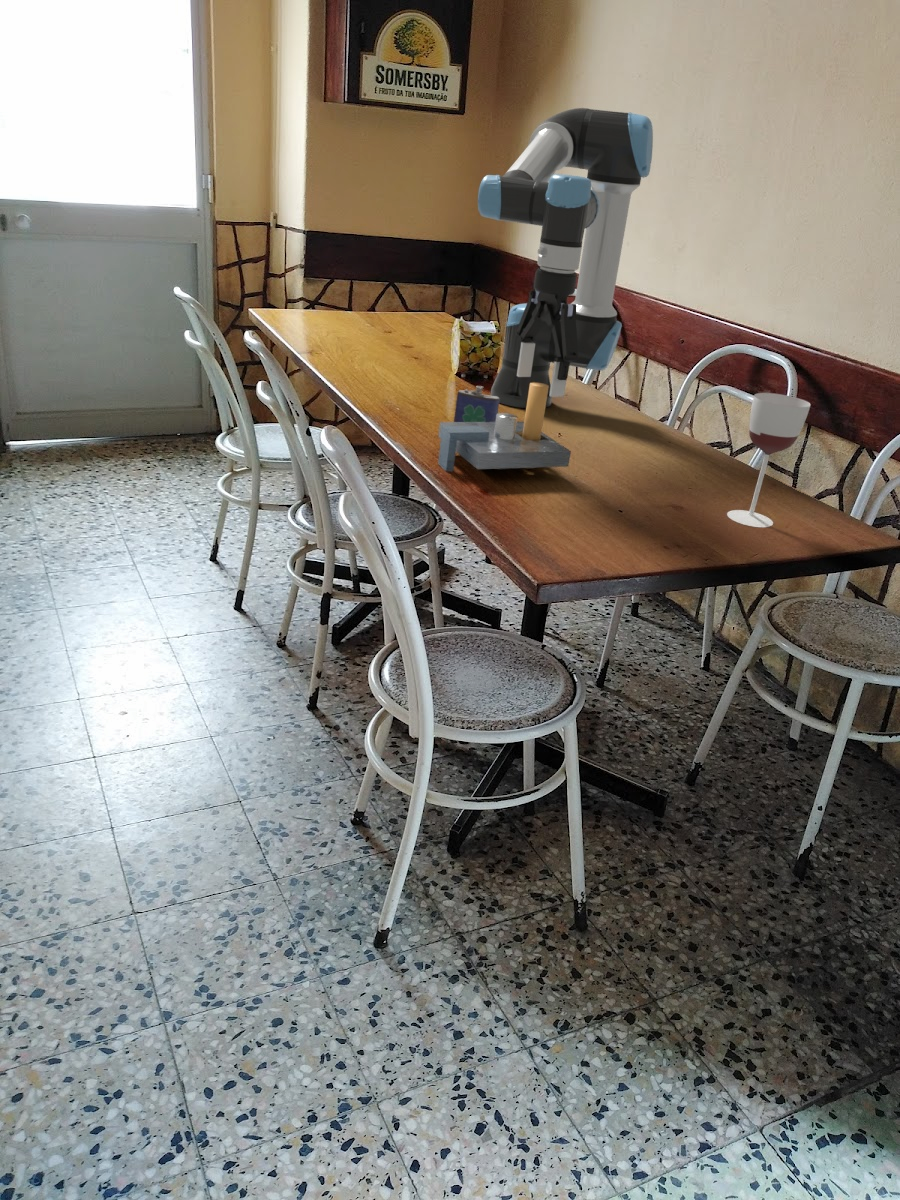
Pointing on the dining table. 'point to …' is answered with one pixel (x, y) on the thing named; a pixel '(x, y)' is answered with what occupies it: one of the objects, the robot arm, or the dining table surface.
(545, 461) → the grey plate
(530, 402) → the light orange cylinder
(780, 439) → the wineglass
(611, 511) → the dining table surface
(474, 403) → the flask
